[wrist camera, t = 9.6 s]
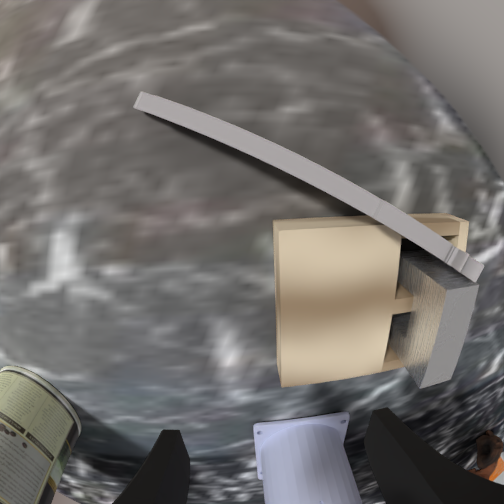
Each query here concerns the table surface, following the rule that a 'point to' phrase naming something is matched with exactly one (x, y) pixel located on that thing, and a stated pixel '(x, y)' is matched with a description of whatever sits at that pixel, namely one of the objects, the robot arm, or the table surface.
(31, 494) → the coffee can
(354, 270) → the tan wooden flat block
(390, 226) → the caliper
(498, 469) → the skincare box
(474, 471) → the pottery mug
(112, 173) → the table surface
